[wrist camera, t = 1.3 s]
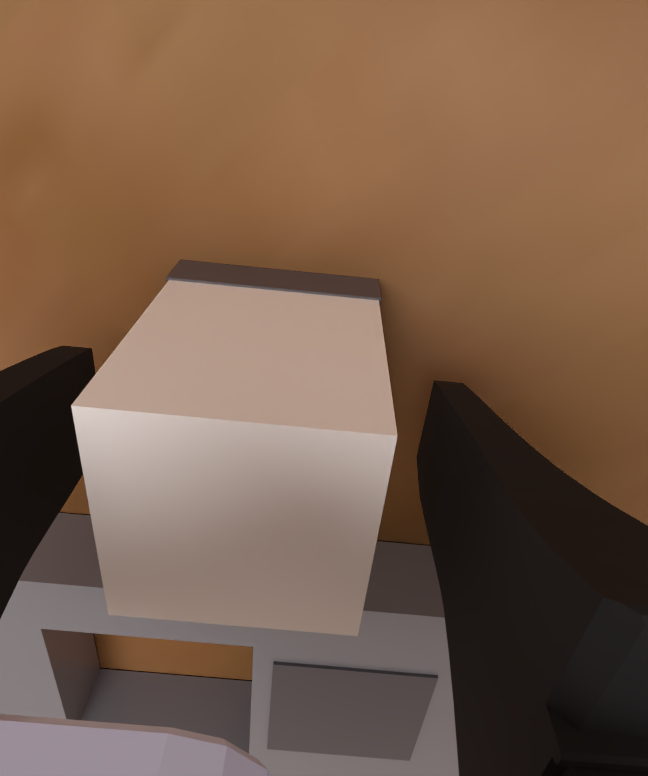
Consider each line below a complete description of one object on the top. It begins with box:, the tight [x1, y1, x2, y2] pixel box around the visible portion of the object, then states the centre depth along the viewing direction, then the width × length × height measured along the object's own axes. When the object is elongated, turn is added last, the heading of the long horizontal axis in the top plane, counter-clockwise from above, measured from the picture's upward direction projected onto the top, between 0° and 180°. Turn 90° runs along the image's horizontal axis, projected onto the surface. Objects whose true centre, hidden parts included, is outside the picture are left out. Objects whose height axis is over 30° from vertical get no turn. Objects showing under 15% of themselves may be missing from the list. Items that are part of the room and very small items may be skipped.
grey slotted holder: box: [0, 513, 459, 776], centre depth 18 cm, size 20×10×4 cm, turn 85°
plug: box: [71, 260, 397, 636], centre depth 11 cm, size 4×4×6 cm
